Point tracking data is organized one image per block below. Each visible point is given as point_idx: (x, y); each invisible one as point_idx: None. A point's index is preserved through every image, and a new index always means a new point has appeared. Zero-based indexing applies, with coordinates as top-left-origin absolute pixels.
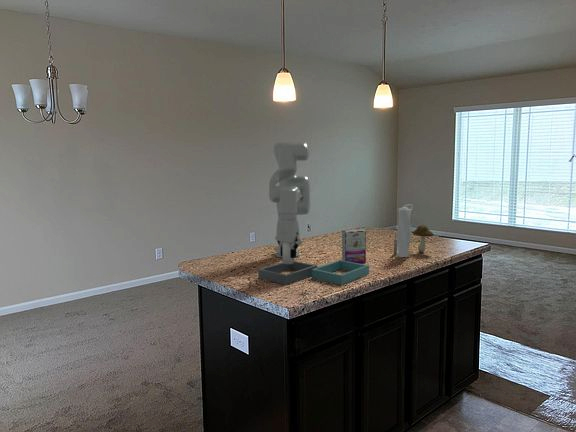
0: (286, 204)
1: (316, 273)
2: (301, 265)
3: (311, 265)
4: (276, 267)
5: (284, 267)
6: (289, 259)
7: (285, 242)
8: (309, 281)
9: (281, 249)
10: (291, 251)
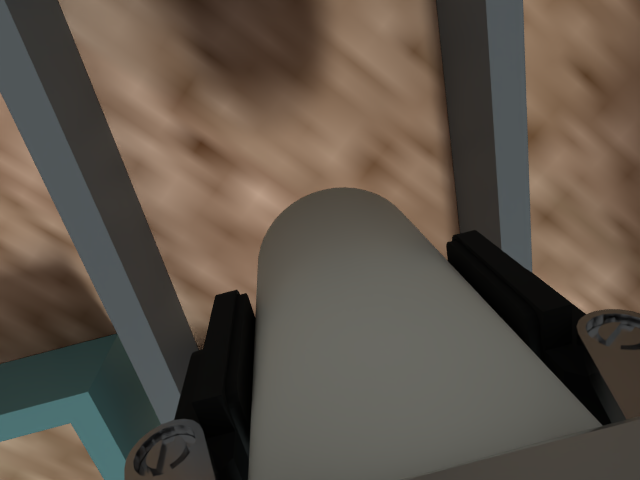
0: None
1: (36, 385)
2: None
3: None
4: (483, 171)
5: None
6: (264, 265)
7: (388, 471)
8: (23, 260)
9: (514, 291)
10: (199, 366)
